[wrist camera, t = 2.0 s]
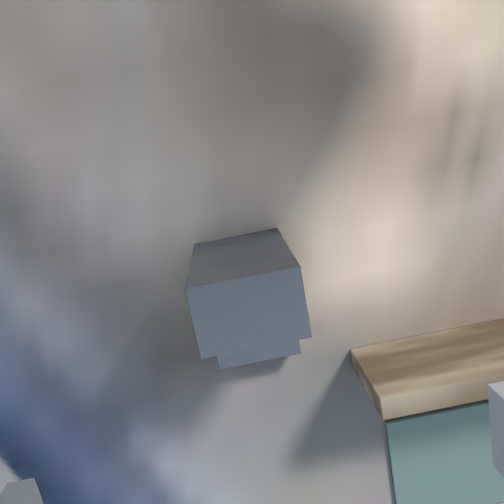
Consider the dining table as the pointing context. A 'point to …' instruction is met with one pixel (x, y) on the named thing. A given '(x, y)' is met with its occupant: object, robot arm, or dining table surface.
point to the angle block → (247, 299)
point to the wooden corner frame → (432, 369)
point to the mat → (444, 457)
